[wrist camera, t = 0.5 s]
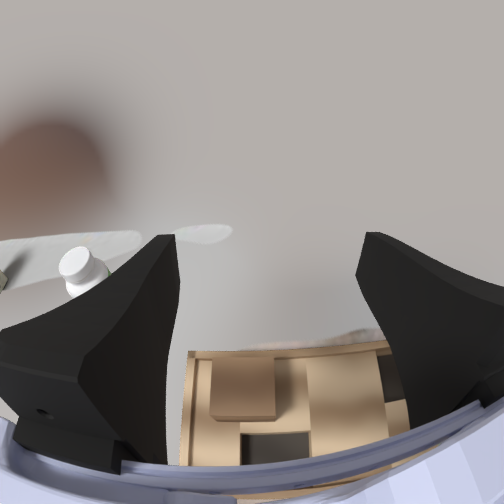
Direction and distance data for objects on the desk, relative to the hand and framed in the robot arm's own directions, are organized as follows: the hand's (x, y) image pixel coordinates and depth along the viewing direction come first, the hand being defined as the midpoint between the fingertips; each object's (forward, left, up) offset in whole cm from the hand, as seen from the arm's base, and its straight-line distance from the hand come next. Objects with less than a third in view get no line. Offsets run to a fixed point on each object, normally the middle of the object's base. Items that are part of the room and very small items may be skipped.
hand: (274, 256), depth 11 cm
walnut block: (-1, +2, -18) cm, 18 cm away
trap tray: (-4, -6, -20) cm, 21 cm away
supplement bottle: (+9, +19, -20) cm, 29 cm away
